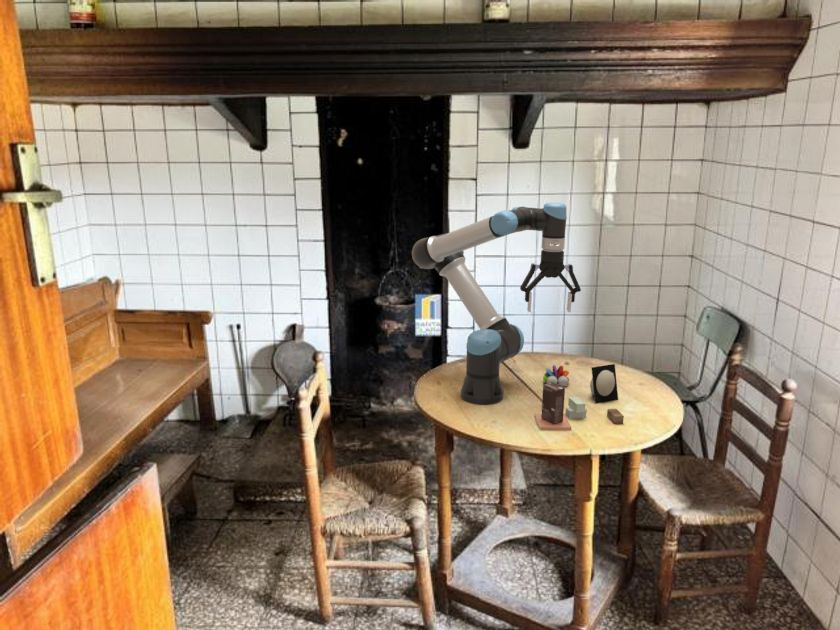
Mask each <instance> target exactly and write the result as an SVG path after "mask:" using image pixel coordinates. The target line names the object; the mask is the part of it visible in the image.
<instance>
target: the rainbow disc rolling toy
mask: <svg viewBox="0 0 840 630" xmlns="http://www.w3.org/2000/svg"><path fill="white" fill-rule="evenodd" d="M545 371H546V372H545V373H544V375H543V377H542V378H543V380H544V381H546V384H547V383H550V382H553V383H555V384H558V385H560V386H562V387H566V386H567V385H568V383H569V382H570V378H569V377H568V375H569V373H570V372H569V370H567V369H566V370H564V366H563V365H560V366H559V367H557V366H556V365H555V364H553V365H552V371H551V370H550V369H549V368H546V369H545Z"/></svg>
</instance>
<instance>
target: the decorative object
mask: <svg viewBox="0 0 840 630" xmlns="http://www.w3.org/2000/svg"><path fill="white" fill-rule="evenodd" d="M591 374H592V375H591V376H592V378H591V380H590V383H589V384H590V385H589V388H590V392H591V394H592V396H594V397H593V398H594V404H595V405H597V404H601V403H603V404H604V403H608V402H614V401H618V400H619V393H618V383H617V382H618V381H617V372H616V363H612V364H606V365H605V364H604V365H598V366H593V367H591Z"/></svg>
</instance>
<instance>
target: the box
mask: <svg viewBox="0 0 840 630" xmlns="http://www.w3.org/2000/svg"><path fill="white" fill-rule="evenodd" d="M565 393H566V388H565V386H563V387H562V386H560V385H559V384H558V383H557V384H555V383H553V382H550V383H547V382H546V383H544V384H542V398H541V399H542V400H541V414H542V415H541V418H542V419H544V420H546V421H548V422H550V423H552V424H558V423H561V422H563V414H564V412H565V411H564V409H565Z"/></svg>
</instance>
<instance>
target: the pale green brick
mask: <svg viewBox="0 0 840 630" xmlns="http://www.w3.org/2000/svg"><path fill="white" fill-rule="evenodd" d="M567 403H568V404H567V406H568V407H570V408H571V409H573V410H574V411H575V412H576V413H580V412H585V409H586V403H585V402H584V401H583V400H582V399H581V398H580V397H578V396H571V397H570V396H568V402H567Z"/></svg>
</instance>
